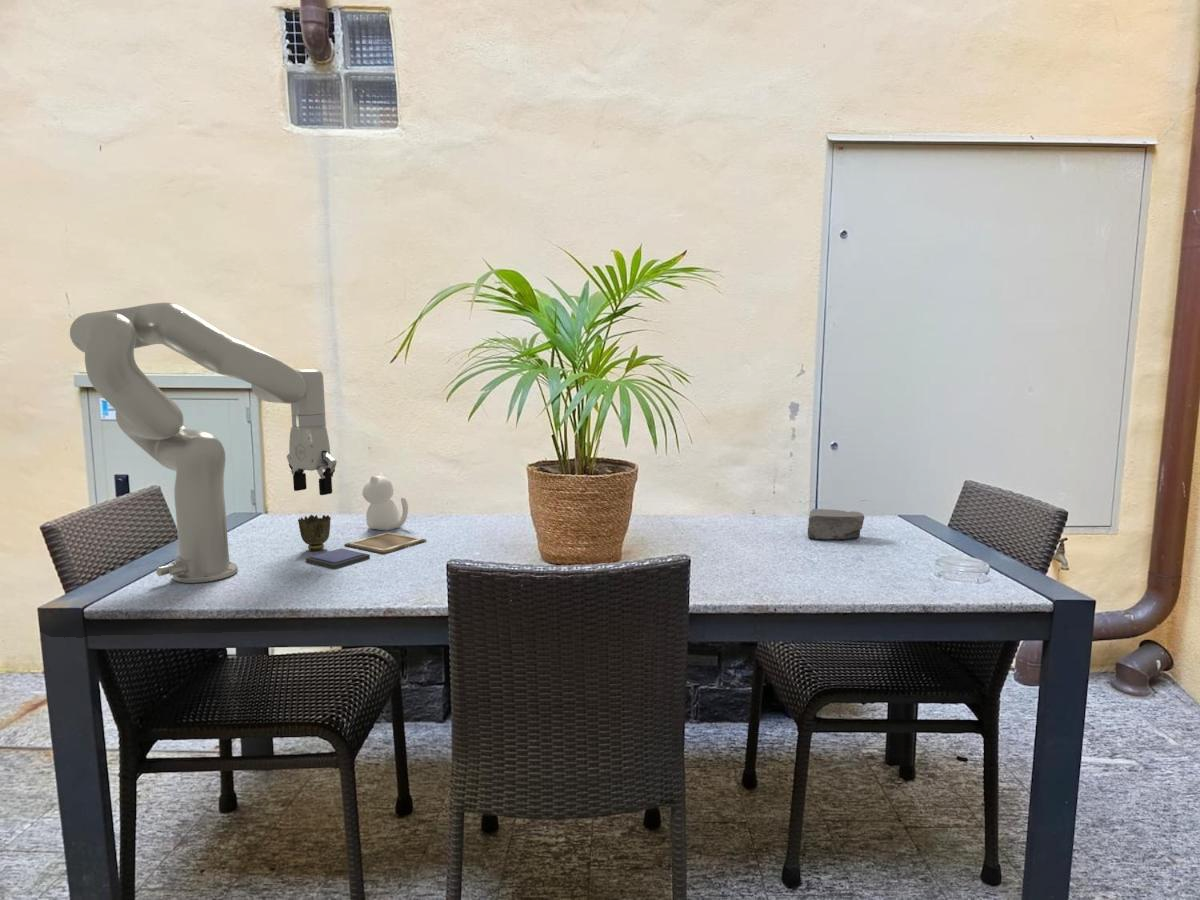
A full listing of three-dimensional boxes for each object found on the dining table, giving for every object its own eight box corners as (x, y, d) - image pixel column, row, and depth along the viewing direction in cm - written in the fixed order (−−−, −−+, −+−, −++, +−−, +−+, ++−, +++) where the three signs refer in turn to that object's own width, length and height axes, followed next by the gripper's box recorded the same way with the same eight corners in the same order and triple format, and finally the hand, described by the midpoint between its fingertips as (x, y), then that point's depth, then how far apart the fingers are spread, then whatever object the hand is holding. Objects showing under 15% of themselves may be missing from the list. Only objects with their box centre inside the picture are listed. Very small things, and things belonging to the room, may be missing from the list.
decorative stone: (797, 535, 203) (813, 543, 193) (797, 509, 202) (814, 516, 192) (849, 533, 205) (868, 541, 195) (850, 507, 204) (869, 514, 194)
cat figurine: (371, 524, 215) (369, 470, 213) (415, 525, 213) (413, 471, 211) (357, 532, 206) (355, 476, 204) (403, 533, 204) (400, 477, 202)
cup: (337, 546, 192) (335, 514, 191) (324, 554, 185) (322, 521, 184) (308, 545, 193) (306, 514, 192) (294, 553, 185) (292, 520, 184)
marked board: (383, 554, 184) (383, 551, 184) (344, 545, 192) (344, 543, 192) (426, 541, 196) (426, 538, 196) (388, 534, 204) (388, 531, 203)
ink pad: (334, 568, 173) (334, 563, 173) (306, 562, 178) (305, 557, 178) (369, 558, 181) (369, 553, 181) (341, 552, 186) (341, 547, 186)
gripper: (272, 421, 186) (277, 491, 188) (318, 425, 176) (322, 498, 179) (299, 418, 192) (303, 486, 194) (345, 422, 183) (349, 493, 185)
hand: (312, 492), depth 187 cm, fingers open, 9 cm apart
